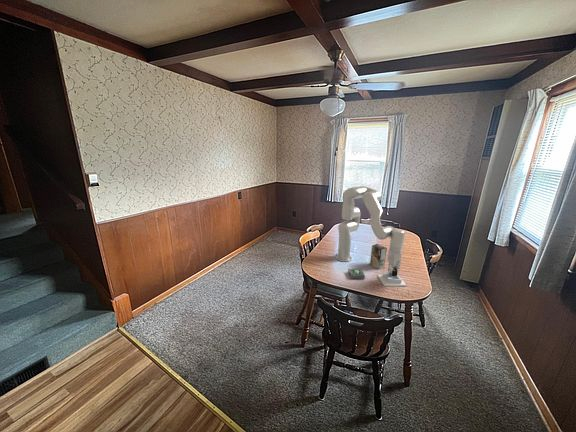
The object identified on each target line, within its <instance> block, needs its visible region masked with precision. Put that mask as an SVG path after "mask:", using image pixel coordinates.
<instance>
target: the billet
mask: <svg viewBox="0 0 576 432" xmlns="http://www.w3.org/2000/svg"><path fill="white" fill-rule="evenodd" d="M388 268H389V271H388V272H387V273H388V275H389V276H391V277H396V276H392V270H393V267H392V266H391V265H390V264H389V263H388ZM395 268H397V267H395Z"/></svg>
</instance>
